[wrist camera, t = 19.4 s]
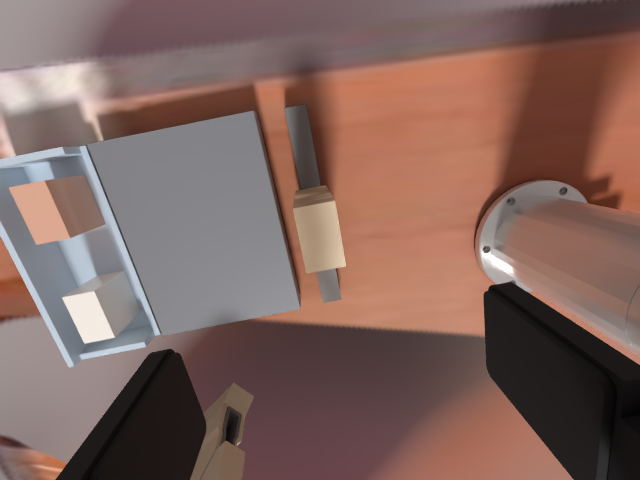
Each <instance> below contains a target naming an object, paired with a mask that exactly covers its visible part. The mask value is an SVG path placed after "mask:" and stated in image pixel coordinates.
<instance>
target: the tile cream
mask: <svg viewBox="0 0 640 480" xmlns="http://www.w3.org/2000/svg"><path fill="white" fill-rule="evenodd" d="M62 299H63V301H64V303H65V305H66V307H67V309H68V311H69V313H70V315H71V317H72V319H73V321H74V323H75V325H76V327H77V330H78V332H79V334H80V336H81V338H82V340H83V342H84V344H86V343H91V342H96V341H101V340H106V339H111V338H115V337H116V336H117V335H118V334H119V333H120V332H121V331H122V330H123V329H124V328H125V327H126V326H127V325H128V324H129V323H130V322H131V321H132V320H133V319H134V318H135V317H136V316H137V315H138V314H139V313H140V312H141V310H140V307H139V305H138V302H137V300H136V297H135V295H134V292H133V290H132V288H131V285H130V283H129V280H128V278H127V275H126V273H125V270H123V271H118V272H113V273H108V274H103V275H98V276H96V277H94V278H92V279H91V280H89V281H88V282H86V283H84V284H83V285H81V286H80V287H78V288H76V289H75V290H73V291H72V292H70V293H68V294H67V295H65V296H64V297H62Z"/></svg>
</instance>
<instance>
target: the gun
mask: <svg viewBox="0 0 640 480" xmlns="http://www.w3.org/2000/svg"><path fill="white" fill-rule="evenodd" d="M253 398H254V396H253V395H251V394H250V393H248V392H247V391H245V390H244V389H243V388H241V387H240V386H238V385H237V384H235V383H234V382H233V383H232V384H231V385H230V386H229V387H228V388H227V389H226V390H225V391H224V392H223V393H222V394H221V395H220V396H219V397H218V398H217V399H216V400H215V401H214V402H213V403H212V405H211V406H210V407H209V408H208V409H207V410H206V411H205V412H204V413H203V414H204V417H205V420H206V425H207V429H206V434H205V438H204V440H203V443H202V446H201V449H200V452H199V455H198V458H197V461H196V464H195V467H194V470H193V473H192V476H191V479H190V480H242V473H243V466H244V459H245V452H243V451H242V450H240V449H239V448H237V445H238V444H239V443H240V442H241V440H242V434H243V428H244V421H245V418H244V417H245V415H246V413H247V411H248V409H249V407H250V404H251V402H252V400H253Z"/></svg>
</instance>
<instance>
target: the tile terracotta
mask: <svg viewBox="0 0 640 480" xmlns="http://www.w3.org/2000/svg"><path fill="white" fill-rule="evenodd" d="M9 190H10V192H11V194H12V196H13V198H14V200H15V202H16V204H17V206H18V208H19V210H20V212H21V214H22V216H23V218H24V220H25V223H26V225H27V227H28V229H29V231H30V233H31V235H32V237H33V239H34V241H35V243H36V245H38V244H43V243H49V242H54V241H59V240H64V239H69V238H72V237H75V236H77V235H80V234H82V233H85V232H87V231H90V230H92V229H95V228H97V227H100V226H102V225H105V221H104V219H103V216H102V214H101V212H100V209H99V207H98V204H97V202H96V199H95V197H94V194H93V192H92V189H91V187H90V185H89V182H88V180H87V177H86V175H82V176H74V177H66V178H59V179H51V180H44V181H39V182H34V183H29V184H24V185H19V186H14V187H9Z"/></svg>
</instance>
